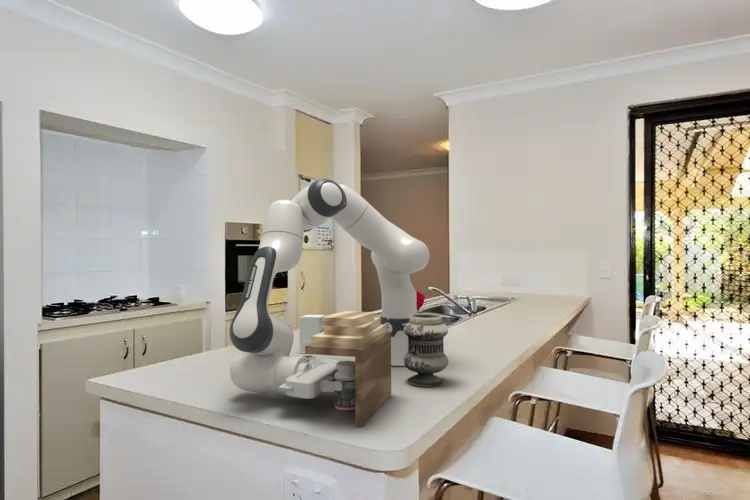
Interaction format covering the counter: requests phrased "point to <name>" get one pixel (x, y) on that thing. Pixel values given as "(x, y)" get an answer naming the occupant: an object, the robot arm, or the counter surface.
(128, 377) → the counter surface
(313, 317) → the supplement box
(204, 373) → the counter surface
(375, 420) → the counter surface
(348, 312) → the offcut stack
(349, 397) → the pill bottle
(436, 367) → the apothecary jar
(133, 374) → the counter surface
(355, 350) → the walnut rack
